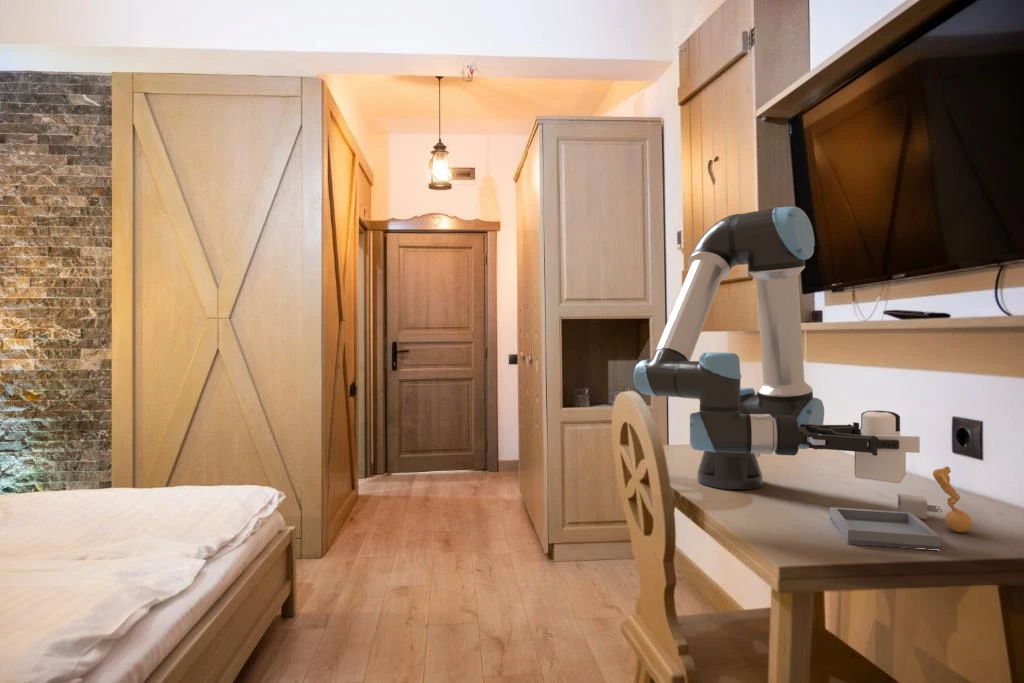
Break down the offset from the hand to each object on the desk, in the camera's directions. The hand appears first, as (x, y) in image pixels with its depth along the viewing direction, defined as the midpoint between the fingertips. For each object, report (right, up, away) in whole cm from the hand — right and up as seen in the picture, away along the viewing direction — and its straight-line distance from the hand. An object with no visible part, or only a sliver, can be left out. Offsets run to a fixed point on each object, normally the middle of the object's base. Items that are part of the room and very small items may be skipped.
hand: (908, 439), depth 109 cm
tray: (-4, -18, +2) cm, 18 cm away
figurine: (+10, -18, +3) cm, 20 cm away
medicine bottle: (-4, -7, +1) cm, 8 cm away
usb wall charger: (+10, -18, +11) cm, 23 cm away
